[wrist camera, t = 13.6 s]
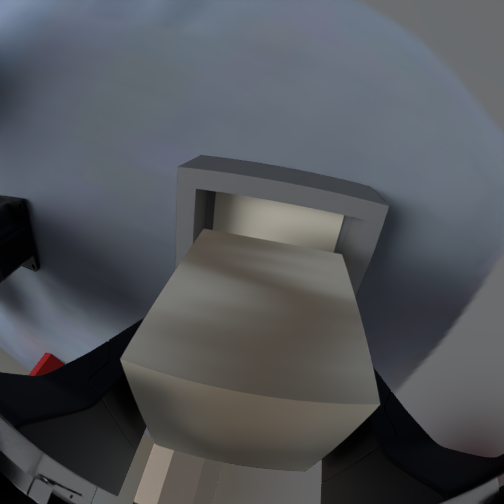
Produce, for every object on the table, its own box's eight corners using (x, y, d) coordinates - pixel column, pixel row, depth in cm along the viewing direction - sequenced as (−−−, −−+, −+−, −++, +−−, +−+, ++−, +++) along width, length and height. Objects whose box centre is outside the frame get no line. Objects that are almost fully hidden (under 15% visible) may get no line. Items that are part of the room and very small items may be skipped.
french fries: (66, 385, 30) (30, 448, 18) (45, 368, 29) (6, 428, 18) (70, 364, 26) (23, 442, 14) (44, 343, 25) (-6, 416, 13)
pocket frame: (194, 364, 20) (183, 393, 18) (201, 155, 13) (178, 166, 10) (296, 383, 20) (295, 414, 17) (369, 186, 12) (389, 206, 10)
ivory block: (199, 328, 12) (155, 444, 7) (203, 228, 10) (120, 359, 4) (306, 348, 12) (305, 471, 7) (341, 254, 9) (380, 404, 4)
